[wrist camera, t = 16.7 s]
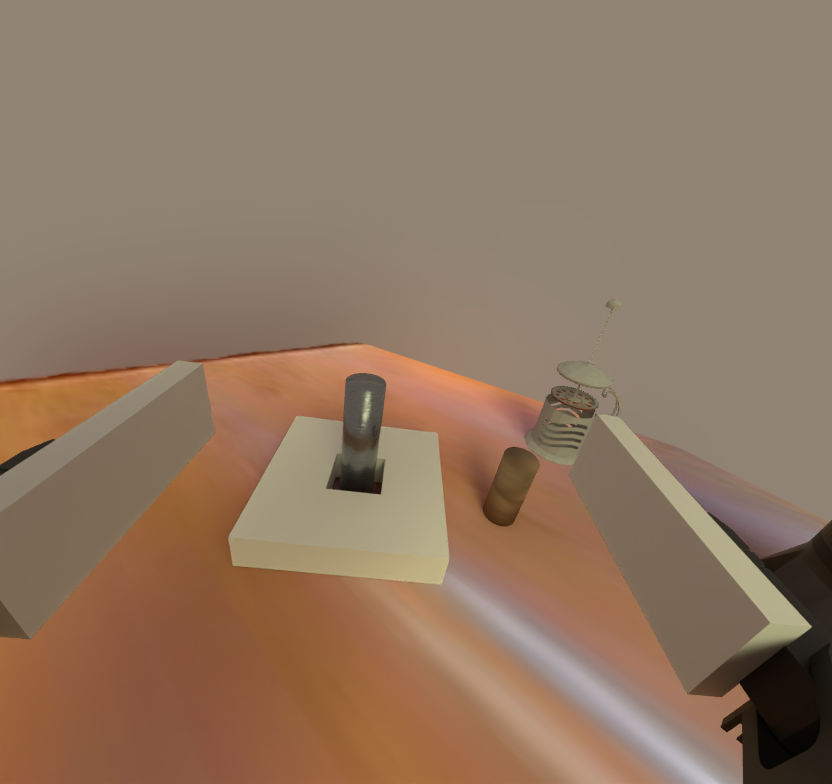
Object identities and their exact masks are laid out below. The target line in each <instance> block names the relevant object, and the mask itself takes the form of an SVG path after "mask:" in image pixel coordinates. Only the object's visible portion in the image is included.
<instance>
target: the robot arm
mask: <svg viewBox="0 0 832 784" xmlns="http://www.w3.org/2000/svg"><path fill="white" fill-rule="evenodd" d="M214 434H215V429H214V424H213V418H212V413H211V407H210V401H209V396H208V390H207V385H206V379H205V374H204V368H203V364H201V363H194V362H186V361H177V362H175V363H174V364H172V365H170V366H169V367H167V368H166V369H164V370H163V371H161V372H160V373H158V374H157V375H155V376H154V377H152V378H150V379H149V380H147V381H146V382H144V383H143V384H141V385H140V386H138V387H137V388H135V389H133V390H132V391H130V392H129V393H127V394H126V395H124V396H123V397H121V398H120V399H118V400H116V401H115V402H113V403H112V404H110V405H109V406H107V407H106V408H104V409H103V410H101V411H100V412H98V413H96V414H95V415H93V416H92V417H90V418H89V419H87V420H86V421H84V422H83V423H81V424H79V425H78V426H76V427H75V428H73V429H72V430H70V431H69V432H67V433H66V434H64V435H62V436H61V437H59V438H58V439H56V440H55V439H52V440H49V441H47V442H44V443H42V444H39V445H37V446H34V447H32V448H30V449H27V450H25V451H22V452H20V453H19V454H17V455H16V456H14V457H12V458H11V459H9V460H8V461H6V462H4V463H3V464H1V465H0V637H8V638H20V639H31V638H32V637H33V636H34V635H35V634H36V633H37V632H38V631H39V629H40V628H41V627H42V626H43V625H44V624H45V623H46V622H47V621H48V619H49V618H50V617H51V616H52V615H53V614H54V613H55V612H56V610H57V609H58V608H59V607H60V606H61V605H62V604H63V603H64V602H65V600H66V599H67V598H68V597H69V596H70V595H71V594H72V593H73V591H74V590H75V589H76V588H77V587H78V586H79V585H80V584H81V583H82V581H83V580H84V579H85V578H86V577H87V576H88V575H89V574H90V572H91V571H92V570H93V569H94V568H95V567H96V566H97V565H98V564H99V562H100V561H101V560H102V559H103V558H104V557H105V556H106V555H107V554H108V552H109V551H110V550H111V549H112V548H113V547H114V546H115V545H116V543H117V542H118V541H119V540H120V539H121V538H122V537H123V536H124V535H125V533H126V532H127V531H128V530H129V529H130V528H131V527H132V526H133V524H134V523H135V522H136V521H137V520H138V519H139V518H140V517H141V516H142V514H143V513H144V512H145V511H146V510H147V509H148V508H149V507H150V506H151V504H152V503H153V502H154V501H155V500H156V499H157V498H158V497H159V495H160V494H161V493H162V492H163V491H164V490H165V489H166V488H167V487H168V485H169V484H170V483H171V482H172V481H173V480H174V479H175V478H176V476H177V475H178V474H179V473H180V472H181V471H182V470H183V469H184V468H185V466H186V465H187V464H188V463H189V462H190V461H191V460H192V459H193V457H194V456H195V455H196V454H197V453H198V452H199V451H200V450H201V449H202V447H203V446H204V445H205V444H206V443H207V442H208V441H209V440H210V439H211V437H212V436H213V435H214ZM569 476H570V478H571V480H572V482H573V484H574V486H575V487H576V489H577V491H578V493H579V495H580V497H581V498H582V500H583V502H584V504H585V506H586V508H587V510H588V511H589V513H590V515H591V517H592V519H593V521H594V523H595V524H596V526H597V528H598V530H599V532H600V534H601V535H602V537H603V539H604V541H605V543H606V545H607V547H608V548H609V550H610V552H611V554H612V556H613V558H614V560H615V561H616V563H617V565H618V567H619V569H620V571H621V572H622V574H623V576H624V578H625V580H626V582H627V584H628V585H629V587H630V589H631V591H632V593H633V595H634V597H635V598H636V600H637V602H638V604H639V606H640V608H641V609H642V611H643V613H644V615H645V617H646V619H647V621H648V622H649V624H650V626H651V628H652V630H653V632H654V634H655V635H656V637H657V639H658V641H659V643H660V645H661V646H662V648H663V650H664V652H665V654H666V656H667V658H668V659H669V661H670V663H671V665H672V667H673V669H674V671H675V672H676V674H677V676H678V678H679V680H680V682H681V683H682V685H683V687H684V689H685V691H686V693H687V694H691V695H703V696H715V697H722V696H724V695H725V694H726V693H728V692H729V691H730V690H731V689H733V688H734V687H735V686H737V685H738V684H739V683H740V685H741V686H742V688H743V689H744V691H745V692H746V694H747V695H748V697H749V698H750V700H749V701H747V702H746V703H745V704H743V705H742V706H741V707H739V708H738V709H736V710H735V711H734V712H732V713H731V714H729V715H728V716H727V717H725V718H724V719H723V722H722V725H721V728H722V729H723V730H725V731H726V732H728V731H730V730H731V729H733V728H734V727H735V726H737V725H738V724H740V723H741V724H742V734H741V735H740V736H738V737H737V740H738V741H739V742H741V743H742V744H743V784H832V520H831V521H830V522H829V523H828V524H827V525H826V526H825V527H824V528H823V529H822V530H821V531H820V532H819V533H818V534H817V535H816V536H815V537H814V538H812V539H811V540H810V541H809V542H807V543H804V544H801V545H798V546H796V547H793V548H790V549H787V550H785V551H782V552H779V553H776V554H774V555H771V556H768V557H765V558H762V559H759V558H758V557H757V556H756V555H755V554H754V552H750V550H749V549H750V548H749V547H748V546H747V545H746V544H745V543H744V542H743V541H742V540H741V539H740V538H739V537H738V536H737V535H736V533H735V532H734V531H733V530H732V529H730V528H729V527H728V526H726V525H725V524H724V523H722V522H721V521H720V520H718V519H717V518H716V517H714V516H713V515H712V514H710V513H708V512H706V511H705V510H704V509H703V508H702V507H701V506H700V505H699V504H698V503H697V501H696V500H695V499H694V498H693V497H692V496H691V495H690V494H689V493H688V492H687V491H686V490H685V488H684V487H683V486H682V485H681V484H680V483H679V482H678V481H677V480H676V479H675V478H674V476H673V475H672V474H671V473H670V472H669V471H668V470H667V469H666V468H665V467H664V466H663V465H662V463H661V462H660V461H659V460H658V459H657V458H656V457H655V456H654V455H653V454H652V453H651V451H650V450H649V449H648V448H647V447H646V446H645V445H644V444H643V443H642V442H641V441H640V440H639V438H638V437H637V436H636V435H635V434H634V433H633V432H632V431H631V430H630V429H629V428H628V427H627V425H626V424H625V423H624V422H623V421H622V420H621V419H620V418H619V417H617V416H609V415H601V414H597V415H596V417H595V419H594V421H593V424H592V426H591V428H590V430H589V432H588V434H587V436H586V439H585V441H584V443H583V445H582V447H581V449H580V451H579V454H578V456H577V458H576V460H575V462H574V464H573V466H572V469H571V471H570V473H569Z"/></svg>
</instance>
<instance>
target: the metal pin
mask: <svg viewBox="0 0 832 784" xmlns="http://www.w3.org/2000/svg"><path fill="white" fill-rule="evenodd" d="M385 390H386V382H385V380H384V379H382V378H381V377H379V376H376V375H373V374H367V373H358V374H353V375H351V376H349V377H348V378H347V379H346V385H345V402H344V419H343V436H342V453H341V470H340V487H339V490H342V491H352V492H361V493H370V494H373V488H374V480H375V472H376V464H377V455H378V447H379V439H380V431H381V423H382V415H383V406H384V398H385Z"/></svg>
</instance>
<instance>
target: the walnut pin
mask: <svg viewBox="0 0 832 784" xmlns="http://www.w3.org/2000/svg"><path fill="white" fill-rule="evenodd" d="M539 466H540V464H539V461H538V459H537V458H536V456H535V455H533V454H532V453H531V452H529V451H527V450H525V449H522V448H518V447H511V448H508V449H506V450H505V452H504V454H503V457H502V460H501V462H500V465H499V468H498V470H497V473H496V475H495V478H494V481H493V483H492V486H491V488H490V491H489V494H488V496H487V499H486V502H485V504H484V507H483V511H484V514H485V516H486V517H487V518H488V519H489V520H490V521H491V522H492V523H494V524H496V525H499V526H509V525H511V524H513V522H514V520H515V518H516V516H517V514H518V512H519V510H520V507H521V505H522V503H523V501H524V499H525V497H526V494H527V492H528V490H529V488H530V486H531V484H532V481H533V479H534V477H535V475H536V473H537V471H538V468H539Z"/></svg>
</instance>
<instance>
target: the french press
mask: <svg viewBox="0 0 832 784" xmlns="http://www.w3.org/2000/svg"><path fill="white" fill-rule="evenodd" d="M606 307H608V308H611V312H610V314H609V317H610V315H611V313H612V311H613V309H616V310H620V308H621V302H620V301H618V300H616V299H611V300H609V301H608V302H607V304H606ZM609 317H608V319H607V321H606V323H605V326H604V328H603V330H602V333H601V335H600V337H599V340H598V342H597V344H596V347H595V349H594V351H593V354H592V356H591V358H590V361H589V363H587V362H584V361H567V362H563V363H560V364H558V366H557V371H558V372H559V374H560V375H562V376H563V377H564V378H566V379H567V380H569V381H571V382H573V383H576V384H579V386H578V389H574V388H572V387H568V386H567V387H566V386H557V387H554V388H552V390H551V393H552V394H549V395H548V396H547V397H546V400H545V402H544V405H543V408H542V410H541V413H540V416H539V418H538V421H537V424H536V426H535V429H533V430H531V431H529V432H527V433H526V436H525V440H526V443H527V445H528V446H529V447H530V448H531V450H532V451H533V452H535V453H536V454H538V455H539V456H541V457H542V458H544V459H546V460H549V461H551V462H554V463H557V464H563V465H573V464H574V462H575V460H576V458H577V456H578V454H579V451H580V449H581V447H582V445H583V443H584V441H585V439H586V436H587V434H588V432H589V430H590V428H591V426H592V424H593V421H594V419H595V417H596V414H595V417H593V414H594V412H595V409H596V408H597V407H598V402H597V401H596V399H595V398H593V397H592V396H590V395H589V394H588V393H585V392H584V391H583V392H582V391H580V390H579V387H580V385H582V386H585V387H589V388H595V389H603V392H602V395H603V397H604V398H605V397H606V396H607V394H608V393H612V394H613V395H614V396H615V397H616V407H615V409H614V411H613V413H612V414H611V416H613V415H614V413H615V411H616V409H617V405H619V408H618V413H617V415H616V416H617V417H618V415H619V413H620V410H621V404H620V400H619V399H618V397H617V395H616V393H615V392H614V391H613V390H612V389H611V388H610V386H612V384H613V380H612V379H611V378H610V376H609V375H608V374H607V373H606V372H605V371H603V370H602V369H600V368H599V367H598V366H596V365H594V364H591V363H590V362H591V360H592V357H593V355H594V352H595V350H596V348H597V345H598V343H599V341H600V338H601V336H602V334H603V331H604V329H605V327H606V324H607V322H608V320H609ZM606 388H609V389H610V390H611V391H608V392H607V393H606V394H605V396H604V392H605V390H606ZM557 402H561V403H562V404H561V405H556V406H551V405H550V404H553V403H557ZM560 407H563V408H570V409H572V410H573V411H575V412H576V413H577V414H578V415H579V417H580V418H577V417H576V416H575V415H573V414H572V413H570V412H569V411H564V410H559V411H558V410H556V409H557V408H560ZM578 409H579V410H583V412H582V413H581V412H580V411H579V410H578ZM546 417H547V418H548V419H545V418H546ZM592 417H593V418H592ZM548 421H551V422H554V423H550V424H548V423H547V422H548ZM543 423H544V424H545V425H543ZM565 424H570V425H571V426H572V427H568V426H566V425H565ZM575 424H577V425H575ZM573 431H574V432H573ZM584 434H585V435H584ZM583 436H584V437H583ZM581 440H582V441H581ZM580 442H581V443H580Z"/></svg>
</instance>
